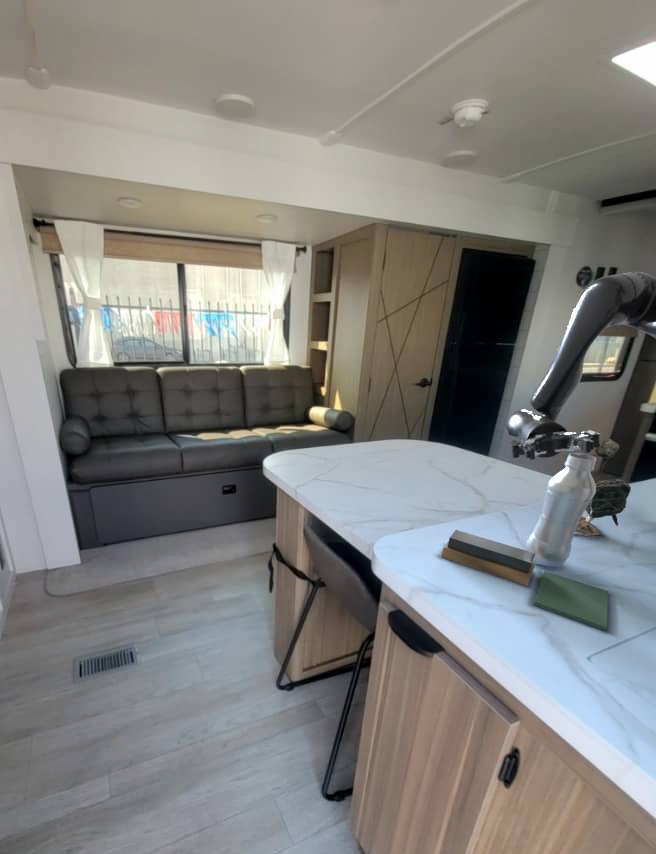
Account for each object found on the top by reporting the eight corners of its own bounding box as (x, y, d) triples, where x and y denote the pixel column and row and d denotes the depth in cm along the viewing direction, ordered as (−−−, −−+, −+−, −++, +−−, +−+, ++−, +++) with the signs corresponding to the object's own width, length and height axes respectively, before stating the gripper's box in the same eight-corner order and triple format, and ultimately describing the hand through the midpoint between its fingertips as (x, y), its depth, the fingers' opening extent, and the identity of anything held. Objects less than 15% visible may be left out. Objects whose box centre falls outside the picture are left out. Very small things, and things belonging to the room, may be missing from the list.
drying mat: (606, 593, 65) (608, 590, 65) (605, 630, 57) (607, 627, 57) (542, 573, 70) (543, 570, 70) (533, 604, 62) (534, 601, 62)
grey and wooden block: (532, 572, 70) (539, 553, 69) (527, 586, 67) (535, 565, 65) (449, 546, 78) (453, 527, 76) (441, 556, 74) (445, 537, 72)
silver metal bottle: (523, 548, 78) (558, 447, 69) (565, 559, 74) (607, 455, 66) (519, 562, 73) (556, 456, 64) (563, 576, 70) (609, 466, 61)
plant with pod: (618, 546, 80) (665, 448, 71) (551, 531, 85) (587, 438, 76) (612, 529, 86) (653, 437, 77) (549, 516, 91) (582, 428, 82)
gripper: (504, 426, 91) (514, 437, 77) (582, 413, 85) (608, 423, 71) (507, 458, 93) (516, 475, 79) (583, 448, 87) (608, 465, 73)
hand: (560, 450), depth 75 cm, fingers open, 8 cm apart
